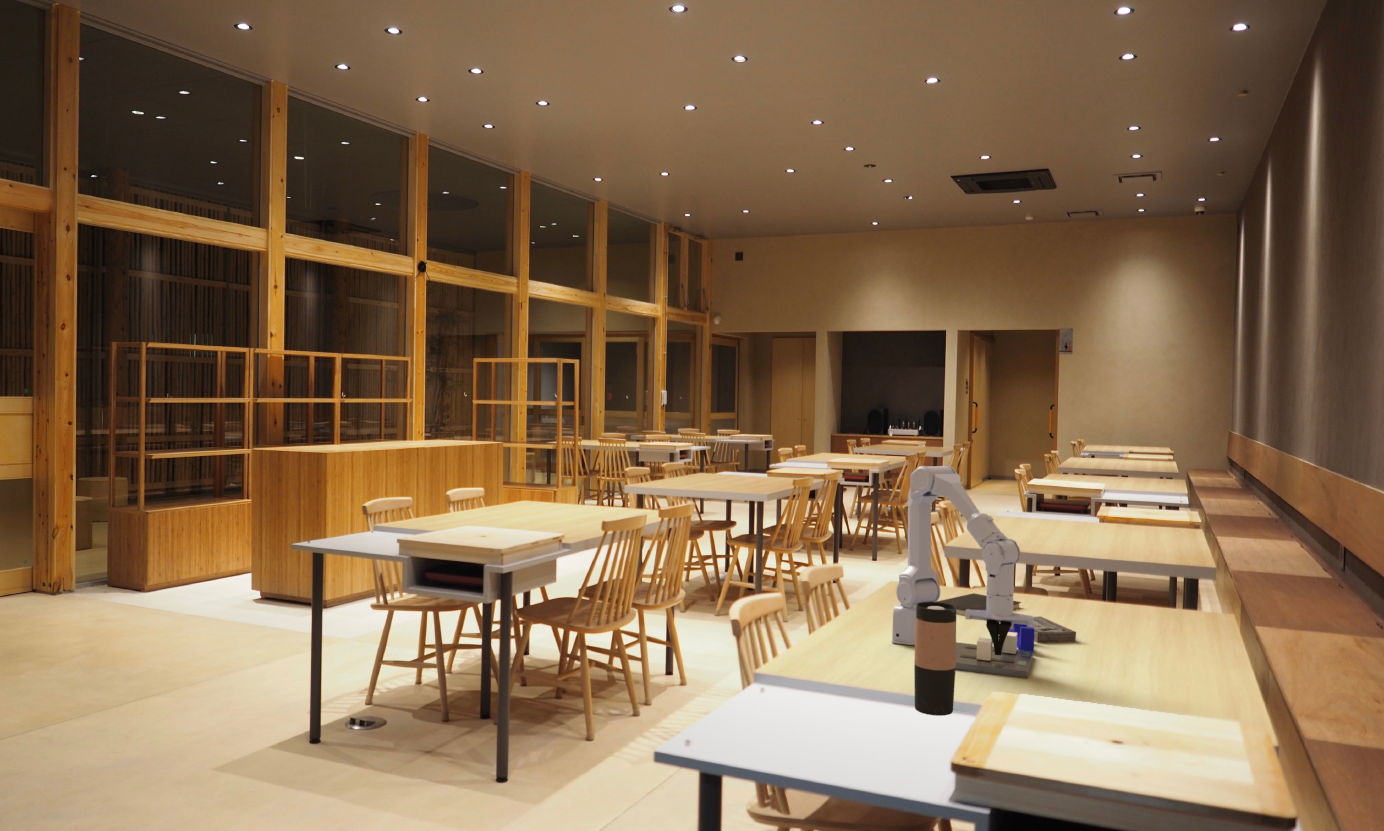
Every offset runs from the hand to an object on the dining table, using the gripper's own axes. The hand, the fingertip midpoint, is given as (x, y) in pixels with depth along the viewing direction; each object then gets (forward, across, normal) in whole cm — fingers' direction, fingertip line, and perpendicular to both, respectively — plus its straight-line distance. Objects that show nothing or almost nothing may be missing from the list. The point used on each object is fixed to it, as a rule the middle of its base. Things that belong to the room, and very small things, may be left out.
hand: (998, 654), depth 217 cm
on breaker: (+1, +2, +9) cm, 9 cm away
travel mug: (+3, -8, -38) cm, 39 cm away
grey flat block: (+4, +7, +38) cm, 39 cm away
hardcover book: (+4, -12, +63) cm, 64 cm away
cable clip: (+3, +3, +22) cm, 23 cm away
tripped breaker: (+1, -3, 0) cm, 3 cm away
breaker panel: (+3, -2, +3) cm, 5 cm away
